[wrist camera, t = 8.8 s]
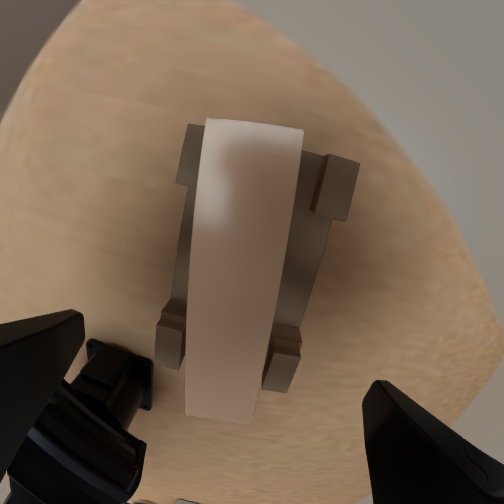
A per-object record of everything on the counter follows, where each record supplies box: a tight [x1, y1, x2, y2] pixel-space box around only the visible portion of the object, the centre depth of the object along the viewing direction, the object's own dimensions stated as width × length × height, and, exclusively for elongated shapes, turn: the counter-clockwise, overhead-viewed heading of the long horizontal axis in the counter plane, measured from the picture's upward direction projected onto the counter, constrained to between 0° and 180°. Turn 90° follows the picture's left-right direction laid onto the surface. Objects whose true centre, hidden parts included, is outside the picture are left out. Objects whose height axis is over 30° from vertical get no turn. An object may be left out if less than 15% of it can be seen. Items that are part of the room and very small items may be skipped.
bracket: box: [154, 124, 360, 393], centre depth 17 cm, size 14×9×5 cm, turn 167°
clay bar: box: [185, 118, 304, 425], centre depth 14 cm, size 14×4×5 cm, turn 172°
